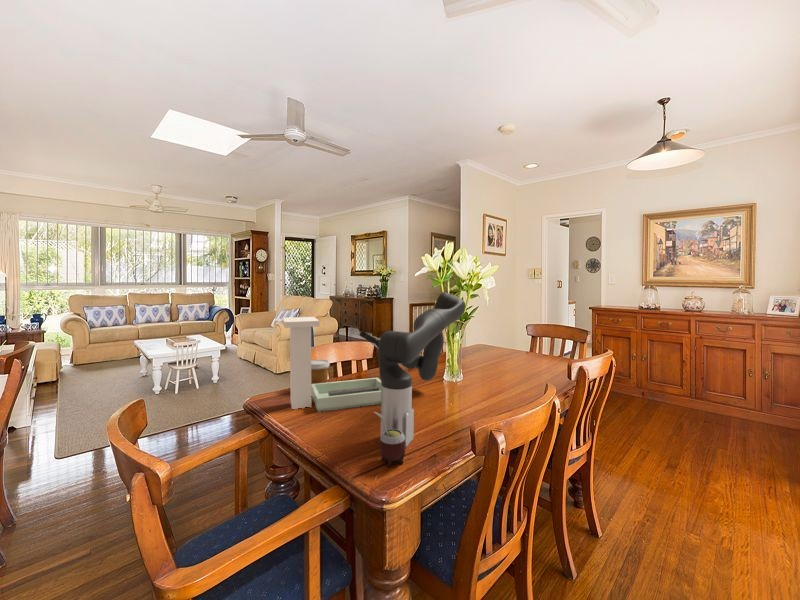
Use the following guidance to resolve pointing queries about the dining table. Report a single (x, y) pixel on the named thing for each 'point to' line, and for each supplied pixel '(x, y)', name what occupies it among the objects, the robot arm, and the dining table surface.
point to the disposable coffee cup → (319, 371)
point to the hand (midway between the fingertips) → (363, 334)
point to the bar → (353, 391)
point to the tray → (347, 400)
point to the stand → (300, 359)
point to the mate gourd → (392, 445)
